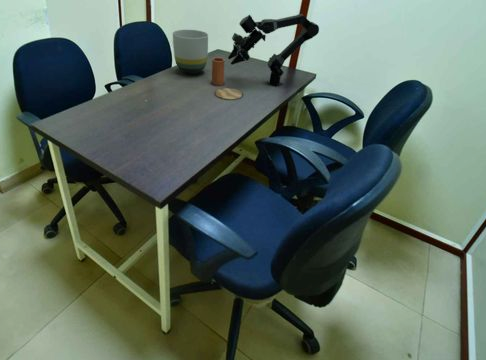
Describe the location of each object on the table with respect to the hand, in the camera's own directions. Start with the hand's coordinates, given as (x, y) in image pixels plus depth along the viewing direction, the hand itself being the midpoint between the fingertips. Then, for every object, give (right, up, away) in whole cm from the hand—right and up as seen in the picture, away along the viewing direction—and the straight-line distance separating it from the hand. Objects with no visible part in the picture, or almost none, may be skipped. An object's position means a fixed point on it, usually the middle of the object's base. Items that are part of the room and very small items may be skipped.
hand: (229, 61), depth 162 cm
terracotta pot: (-7, -10, +6) cm, 14 cm away
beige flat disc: (0, -19, -4) cm, 20 cm away
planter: (-24, 0, +17) cm, 29 cm away
